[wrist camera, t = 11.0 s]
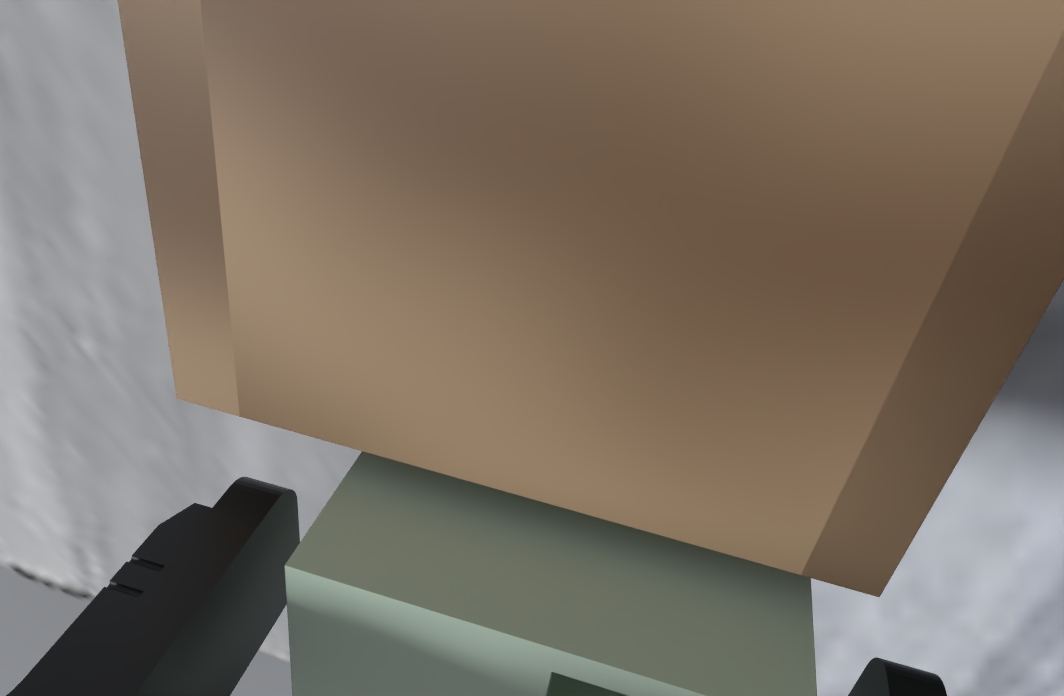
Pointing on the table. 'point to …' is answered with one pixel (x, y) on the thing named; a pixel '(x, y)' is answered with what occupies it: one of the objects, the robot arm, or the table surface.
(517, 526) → the hollow square pipe
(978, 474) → the table surface
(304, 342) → the small wooden cupboard
